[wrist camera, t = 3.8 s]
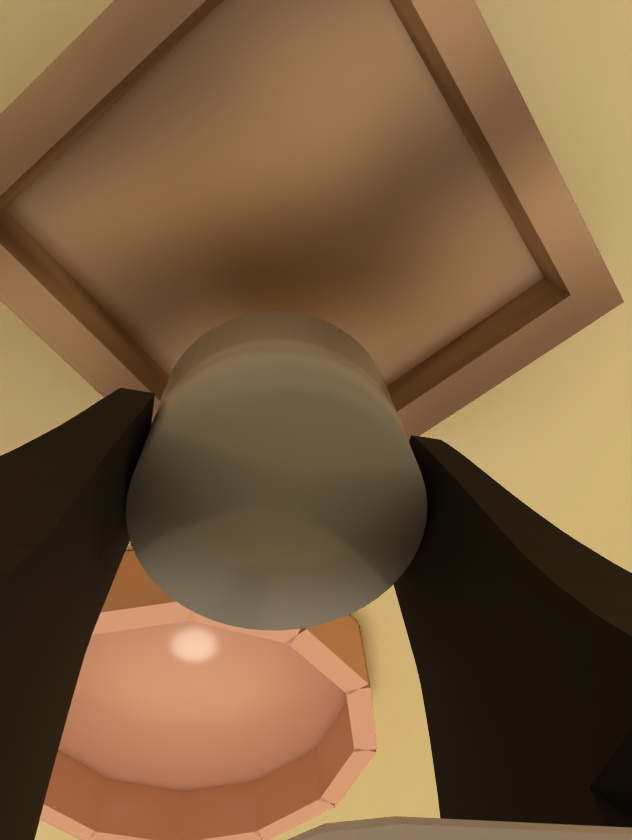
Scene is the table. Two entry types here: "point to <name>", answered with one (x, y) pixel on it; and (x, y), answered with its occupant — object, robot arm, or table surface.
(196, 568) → the cylinder
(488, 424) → the table surface
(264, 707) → the bowl
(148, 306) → the parts tray
